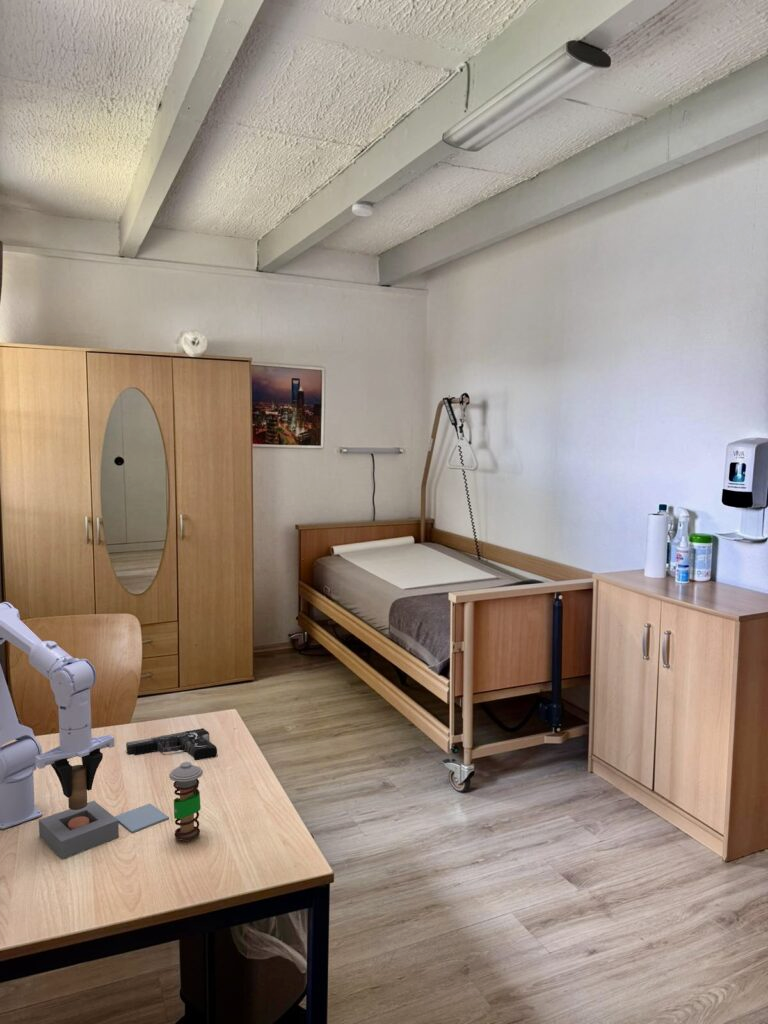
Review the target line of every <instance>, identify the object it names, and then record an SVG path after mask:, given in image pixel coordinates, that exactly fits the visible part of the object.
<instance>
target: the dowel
mask: <svg viewBox="0 0 768 1024" xmlns="http://www.w3.org/2000/svg"><path fill="white" fill-rule="evenodd" d="M71 766H72V773H71V791H72V793H71V797H68V798H67V799H68V801H67V802H68V809H71V810H79V809H82V808H84V807H86V806H87V803H88V790H87V776H86V766H85V765H82V764H75V765H71Z"/></svg>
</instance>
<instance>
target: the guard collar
mask: <svg viewBox="0 0 768 1024" xmlns="http://www.w3.org/2000/svg"><path fill="white" fill-rule="evenodd" d="M81 816H84V817H88V818H89V824H86V825H84V826H81V827H78V828H76V829H73V830H69V829H68V822H69V821H70V820H71V819H73V818H76V817H81ZM38 832H39V836H38V837H39V838H40V839H41V840H42V841H43V842H44V843H45V844H46V845H47V846H48V847H49V848H50V849H51V850H52V851H53V852H54V853H55V854H56V855H57V857H59V858H60V859H61V860H64V859H67V858H69V857H72V856H75V855H77V854H79V853H82V852H85V851H87V850H90V849H93V848H95V847H98V846H101V845H103V844H105V843H108V842H109V841H110V842H111V841H112V840H115V839H118V838H119V837H120V832H119V822H118V819H116V818H115V817H114V815H112V814H111V813H110V812H109V811H108V810H106V808H104V807H103V806H102V805H100V804H99V803H98V802H97V801H96V800H91V801H87V806H86V807H84V808H82V809H79V810H71V809H69V808H68V809H65V810H63V811H60V812H57V813H53V814H51V815H49V816H46V817H42V818H41V819H38Z"/></svg>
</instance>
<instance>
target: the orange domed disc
mask: <svg viewBox="0 0 768 1024" xmlns="http://www.w3.org/2000/svg"><path fill="white" fill-rule="evenodd" d="M86 824H89V818H88V817H84V816H81V817H76V818H73V819H71V820H70V821H69V822H68V829H69V830H73V829H76V828H78V827H81V826H84V825H86Z"/></svg>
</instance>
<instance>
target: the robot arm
mask: <svg viewBox="0 0 768 1024" xmlns="http://www.w3.org/2000/svg"><path fill="white" fill-rule="evenodd" d="M6 641H7V642H9V643H10V644H12V645H13V646H15V647H16V648H17V649H19V650H21V651H22V652H23V653H25V654H27V655H28V663H29V664H30V665H31V667H33V668H34V669H35V670H36V671H38V672H39V673H40V674H42V675H43V677H45V678H46V679H48V680H49V685H50V688H51V690H52V692H53V694H54V702H55V703H56V706H58V728H59V729H58V734H59V746H56V747H54V748H52V749H50V750H48V751H46V752H44V753H43V749H42V745H41V743H40V741H39V740H37V738H36V736H35V734H34V731H33V729H32V728H31V727H29V726H26V725H23V724H21V723H20V722H19V719H18V716H17V713H16V709H15V706H14V703H13V700H12V697H11V696H12V695H11V693H10V690H9V686H8V684H7V681H6V678H5V674H4V671H3V668H2V664H1V663H0V829H1V830H5V829H7V828H11V827H14V826H17V825H19V824H23V823H25V822H27V821H31V820H35V819H36V818H39V817H41V816H43V812H41V811H40V809H38V808H37V806H36V805H35V786H34V785H35V783H34V782H35V781H34V779H35V778H34V772H35V771H36V770H37V768H38V769H39V770H40V769H41V770H42V769H44V768H46V766H49V765H50V766H51V767H52V769H53V771H54V773H55V774H56V776H57V777H58V780H59V784H60V785H61V788H62V794H63V796H65V797H66V798H67V799H68V797H71V793H72V791H71V773H72V766H73V765H71V764H70V761H69V759H73V758H76V757H79V758H81V765H85V766H86V776H87V792H89V791H92V788H93V784H94V781H95V776H96V774H97V770H98V768H99V766H100V764H101V762H102V761H103V756H104V755H103V752H101V750H102V749H107V748H110V749H111V748H113V747H115V737H114V736H113V735H112V734H108V735H107V734H106V735H102V736H98V737H97V736H96V737H92V709H91V689H90V688H92V687H94V686H95V684H96V682H97V671H96V669H95V666H94V665H93V664H92V662H90V660H89V659H87V658H81V659H80V658H78V657H76V658H74V657H73V656H72V655H70V654H69V653H68V652H67V651H66V650H64V649H63V648H62V647H60V646H59V645H58V643H57V642H56V641H53V640H43V641H42V639H41V638H40V637H39V636H37V634H35V633H34V632H33V631H32V630H31V629H30V628H29V627H28V626H27V625H26V624H25V623H24V622H23V621H22V620H21V616H20V611H19V609H17V608H16V607H14V605H13V604H12V603H10V602H7V601H3V602H0V645H2V644H3V643H4V642H6ZM13 740H15V741H13ZM11 741H12V742H11ZM7 743H8V744H7Z"/></svg>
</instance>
